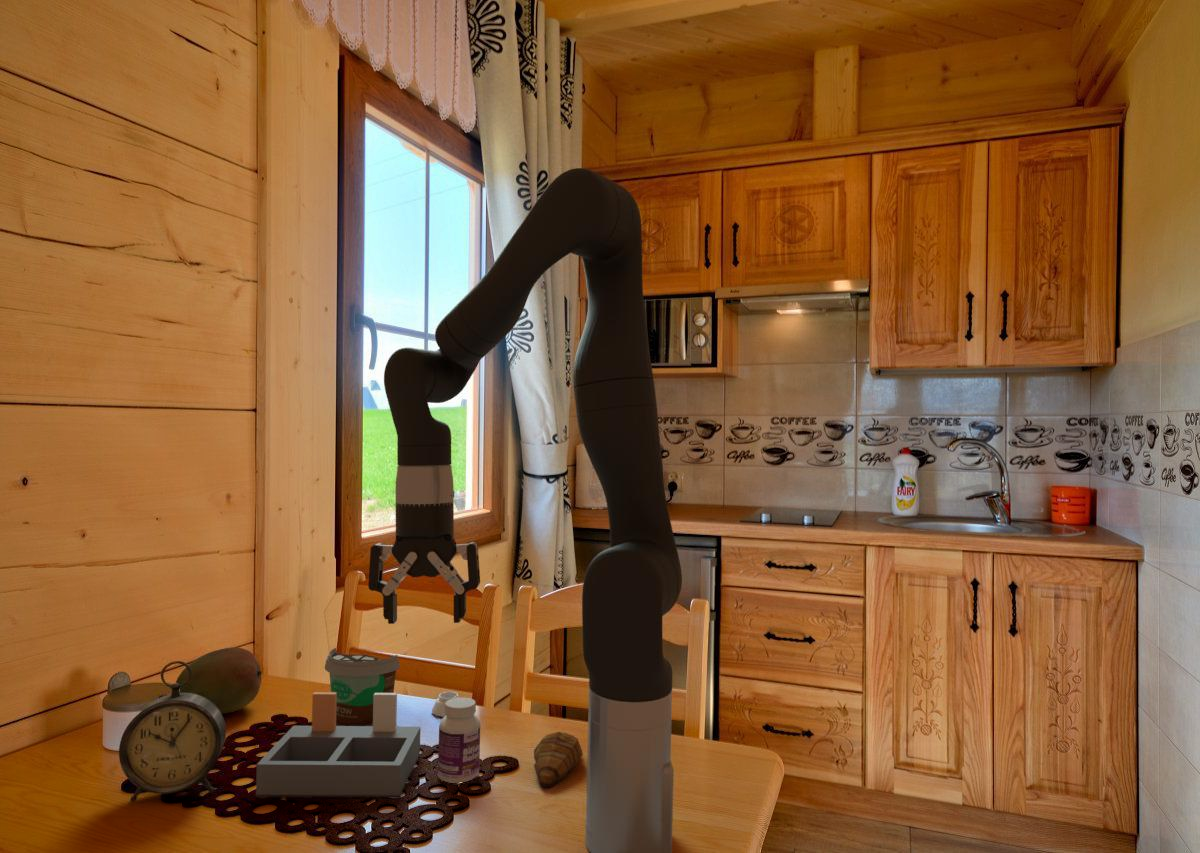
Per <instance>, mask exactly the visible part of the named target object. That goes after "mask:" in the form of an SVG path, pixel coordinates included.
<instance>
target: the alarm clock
mask: <svg viewBox="0 0 1200 853" xmlns="http://www.w3.org/2000/svg"><path fill="white" fill-rule="evenodd" d="M176 664H179V665H183V666H184V667H185V668H186V667H187V669H188V671H189V677H188V679H187V680H186V682H184V683H183V684H181V685H180V684H179V683H176V682H174V683H172V684H169V683H167V682H166V680H165V678H164V675H165V671H166V669H167V668H168V667H170V666H172V665H176ZM191 675H192V671H191V668H190V666H189V664H187V663H186V662H184V661H181V660H174V661H171V662H169V663H167V664H166V665H165V666H164V667H163V668H162V669H161V672H160V679H161V682H162V683H163V684H164V685H165V686H166V687H168V688H170V689H171V693H170V694H166V695H163V696H161V697H159V698H157V699H155V700H153V701H152V702H150V703H149V704H148V705H147V706H145V707H144V708H143V709H141V711H140V712H139V713H138V714H137V715H135V717H133V718H132V720H131V721H130V722H129V723H128V725H127V726H126V728H125V729H124V731H123V733H122V736H121V739H120V741H119V742H120V743H119V748H118V756H119V758H118V759H119V764H120V767H121V769H122V771H123V773H124V775H125V778H127V779H128V780H129V782H131V783H132V784H133V785H134V786H136V787H137V788H136V790H135V792H134V793H133V795H132V796H130V801H131V802H136V800H137V798H138V797H139V795H140V794H142V793H143V791H144V792H145V791H146V792H148V793H152V794H157V795H158V794H159V795H161V794H162V795H167V794H173V793H175V794H176V793H179V792H182V791H185V790H187V789H190V788H191V787H193V786H195V785H196V784H198V783H199V782H200V783H201V785H202V786H203V787H205V788H206V789H207V790H208V793H213V792H214V790H215V788H214V786H212V785H211V783H210V781H209V779H208V778H207V777H206V776H207V775H208V774H209V773H210V771H211V770H212V769H213V767H214V766H215V764H216V763H217V760H218V759H219V756H220V755H221V753H222V751H223V749H224V746H225V743H226V742H225V741H226V737H227V728H226V722H225V719H224V716H223V714H221V712H220V711H219V709H218V708H217V707H216V706H215V705H214V704H213V703H212V702H211V701H209V700H208V699H206V698H204V697H202V696H200V695H197V694H192V693H180V692H179V688H180V687H181V686H184V685H185V684H187V683H188V681H189V680H190V678H191Z"/></svg>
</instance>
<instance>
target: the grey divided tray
mask: <svg viewBox="0 0 1200 853" xmlns="http://www.w3.org/2000/svg"><path fill="white" fill-rule="evenodd" d="M311 706H312V708H311V711H312V712H311V713H312V714H311V725H292V726H291V728H290V729H288V731H287V732H286V733H285V734H284V735H283V736H282V737H281V738H280V739H279V740H278V742H277V743H275V744H274V746H273V747H271V749H270V750H268V752H267V753H266V754H265V755H264V756H263V757H262V758H261V759H260V761H258V762H257V763H256V779H255V780H256V781H255V798H312V797H311V796H313V797H314V796H315V797H320V796H321V797H332V796H333V797H344V798H346V797H347V798H346V799H348V798H349V799H350V798H352V797H372V798H371V799H373V798H374V797H375V798H374V799H381V798H380V797H387V798H386V799H400V798H401V796H402V794H403V792H402V791H404V790H403V788H404V786H405V784H406V782H407V783H408V781H409V779H408V777H409V776H410V777H411V775H412V773H413V771H414V769H415V767H416V765H417V763H416V762H418V760H419V758H418V757H420V756H421V726H400V725H399V726H397V720H398V719H397V717H398V714H397V713H398V711H397V709H398V708H397V707H398V692H394V693H375V694H374V697H373V725H369V726H343V725H337V723H336V706H337V692H331V691H326V692H325V691H315V692H313V693H312V704H311ZM419 755H420V756H419ZM415 764H416V765H415ZM414 766H415V767H414ZM413 768H414V769H413ZM412 770H413V771H412ZM411 772H412V773H411ZM410 774H411V775H410ZM410 777H409V778H410ZM407 780H408V781H407ZM406 785H407V784H406ZM405 787H406V786H405ZM404 789H405V788H404ZM377 797H379V798H377ZM352 799H353V798H352Z"/></svg>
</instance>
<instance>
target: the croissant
mask: <svg viewBox="0 0 1200 853" xmlns="http://www.w3.org/2000/svg"><path fill="white" fill-rule="evenodd" d="M583 755H584V754H583V749H582V746H581V744H580V741H579V738H578V737H575V735H573V734H570V733H568V732H562V731H556V732H552V733H549V734H546V735H544V736H543V737H542V739H540V741H539V742H538V744H537V746H535V748H534V750H533V759H534V762H535V763H534V764H533V767H534V769H535V772H536V775H537V780H538V782H539V785H540V787H544V788H551V787H553V786H555V785H557V784H558V783H560V782H561V781H563V780H564V779H565V778H566V776H567V774H569V773H570V772H572V770H573V768H574V767H575V766H576V765H577V763H578V762H579V761H580V760H581V758H582V757H583Z"/></svg>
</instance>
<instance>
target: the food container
mask: <svg viewBox="0 0 1200 853" xmlns="http://www.w3.org/2000/svg"><path fill="white" fill-rule="evenodd" d="M324 669H325V672H327V673H329V685H330V692H337V706H336V725H339V726H343V725H344V726H368V725H369V726H373V697H374V694H375V693H395V684H396V683H395V682H396V676H397V674H396V673H397V670H401V665H400V660H399V658H398V654H396V655H393V656H390V657H386V658H379V657H377V656H373V655H369V654H360V653H359V654H346V653H338V652H337V647H333V648H332V649H331V650H330V651H329V652H328V655H327V657H326V659H325V664H324Z"/></svg>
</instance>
